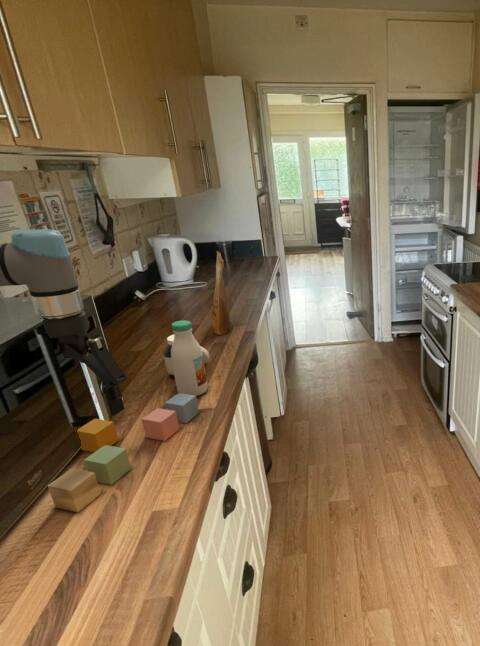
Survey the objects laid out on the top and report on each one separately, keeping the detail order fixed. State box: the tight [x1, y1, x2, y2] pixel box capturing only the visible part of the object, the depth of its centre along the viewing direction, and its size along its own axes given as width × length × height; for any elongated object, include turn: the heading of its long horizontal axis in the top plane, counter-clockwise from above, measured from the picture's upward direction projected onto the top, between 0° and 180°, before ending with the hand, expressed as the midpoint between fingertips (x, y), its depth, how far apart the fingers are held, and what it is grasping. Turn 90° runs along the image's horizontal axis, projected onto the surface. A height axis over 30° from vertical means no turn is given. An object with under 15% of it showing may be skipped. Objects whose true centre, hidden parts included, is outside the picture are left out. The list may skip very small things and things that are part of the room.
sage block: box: [83, 445, 132, 486], centre depth 85 cm, size 5×5×5 cm
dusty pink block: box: [141, 407, 180, 442], centre depth 98 cm, size 5×5×5 cm
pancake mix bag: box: [212, 250, 230, 336], centre depth 158 cm, size 7×19×28 cm, turn 16°
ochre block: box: [76, 418, 120, 453], centre depth 94 cm, size 5×5×5 cm
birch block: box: [47, 467, 102, 513], centre depth 78 cm, size 5×5×5 cm
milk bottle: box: [171, 319, 209, 397], centre depth 114 cm, size 8×8×20 cm
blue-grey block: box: [164, 392, 200, 424], centre depth 105 cm, size 5×5×5 cm
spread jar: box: [163, 334, 211, 378], centre depth 127 cm, size 12×11×12 cm
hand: (91, 408), depth 91 cm, fingers open, 13 cm apart
